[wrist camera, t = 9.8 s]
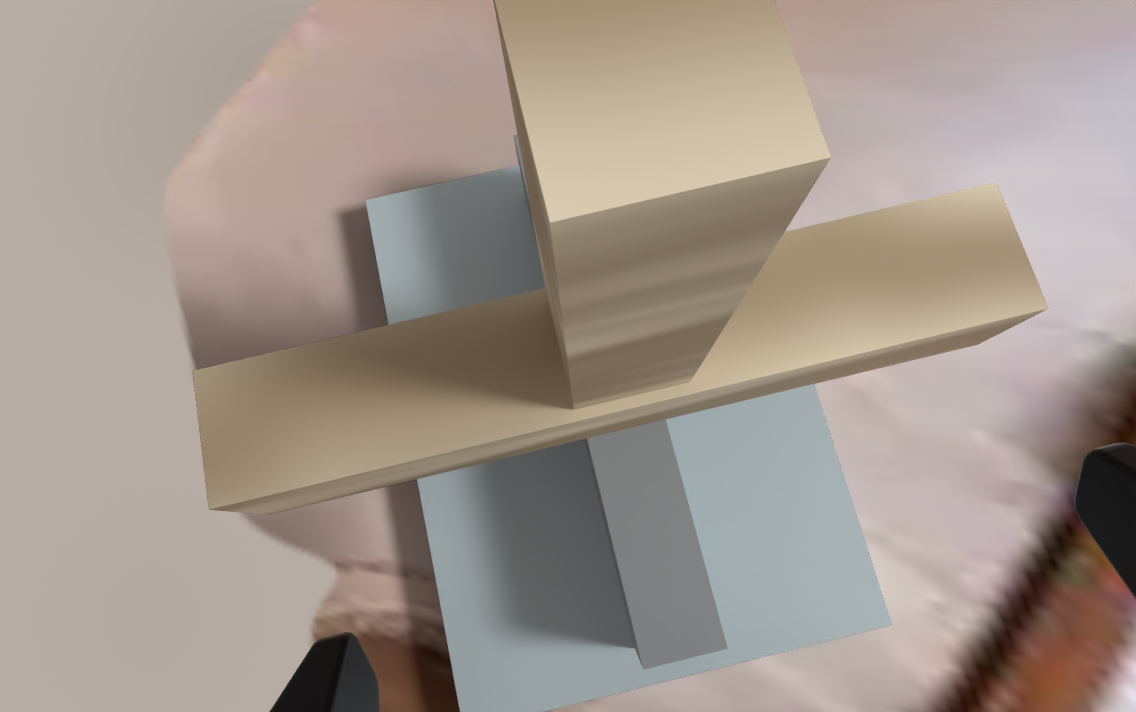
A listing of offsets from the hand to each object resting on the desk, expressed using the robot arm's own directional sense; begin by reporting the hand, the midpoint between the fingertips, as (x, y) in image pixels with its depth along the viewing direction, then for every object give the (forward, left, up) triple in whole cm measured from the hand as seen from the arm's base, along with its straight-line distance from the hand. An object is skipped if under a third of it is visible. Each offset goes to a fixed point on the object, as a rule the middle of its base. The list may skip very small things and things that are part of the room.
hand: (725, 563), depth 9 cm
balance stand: (+5, -1, -14) cm, 14 cm away
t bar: (+5, -1, -9) cm, 10 cm away
